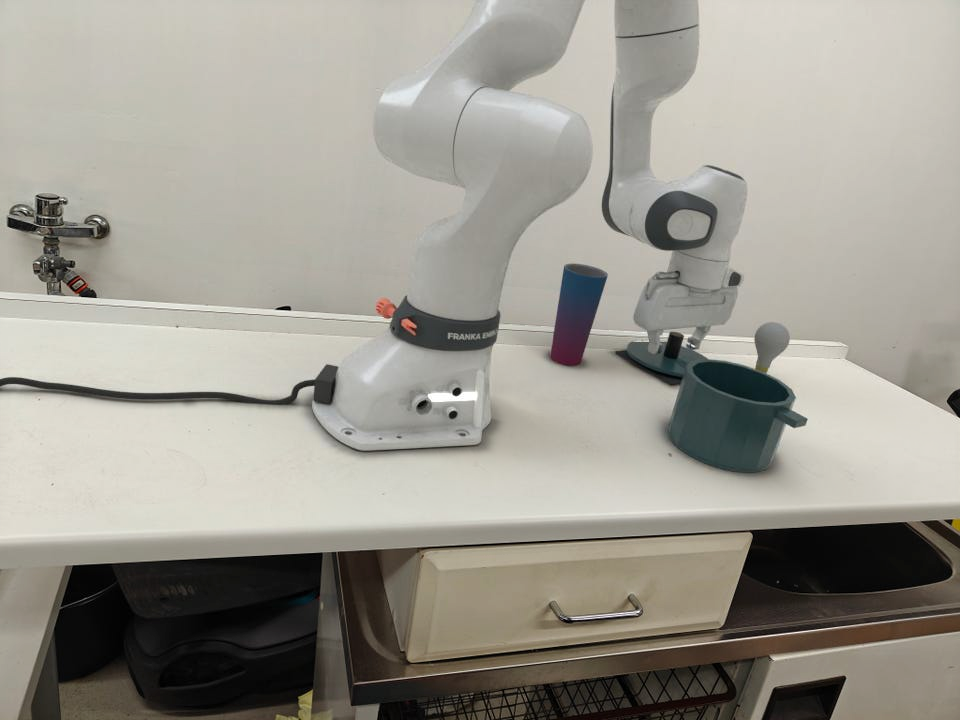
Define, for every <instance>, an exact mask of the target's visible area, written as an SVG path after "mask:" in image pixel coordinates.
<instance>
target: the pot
mask: <svg viewBox="0 0 960 720" xmlns="http://www.w3.org/2000/svg"><path fill="white" fill-rule="evenodd" d="M676 364H678V365H679V366H681V367H683V368H685V372H684V375H683V378H682V382H681V384H679V389H678V392H677V395H676V399H675V402H674V405H673V409H672V413H671V415H670V419H669V422H668V428H667V435H668V437H669V439H670V441H671V442H672V444H673V445H674V446H675V447H677V448H678V449H679V450H680V451H682V452H683V453H684V454H685V455H688V456H690V457H691V458H693V459H694V460H697V461H699V462H702V463H704V464H707V465H708V466H712V467H714V468H717V469H722V470H724V471H725V470H727V471H730V472H734V473H735V472H736V473H748V474H749V473H751V474H752V473H758V472H763V471H766V470H767V469H768V468H769V467H770V466H771V464H772V462H773V460H774V459H775V456H776V454H777V450H778V447H779V445H780V442H781V440H782V437H783V434H784V431H785V429H786V426H789V427H790V428H792V429H797V428H801V427H805V426H806V425H807V423H808V419H809V418H808V417H805V416H803V415H802V414H800V413H798V412H797V411H794V410H793V408H794V404H795V402H796V400H797V396H796V394H795V393H794V391H793V389H792V388H791V387H790V386H788V385H787V384H786V383H784V382H783V381H782V380H780V379H779V378H776V377H775V376H773V375H771V374H768V372H767V373H765V372H762V371H759V370H756V369H755V368H753V367H751V366H747V365H744V364H740V363H736V362H731V361H728V360H721V359H710V358H708V359H703V360H696V359H694V358H692V357H690V356H684V357H678V358H677V361H676Z"/></svg>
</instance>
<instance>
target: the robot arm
mask: <svg viewBox="0 0 960 720" xmlns="http://www.w3.org/2000/svg"><path fill="white" fill-rule="evenodd" d="M585 1H586V0H475V2H474V5H473V7H472V8H471V11H470V13H469V15H468V16H467V18H466V20H465V22H464V23H463V25H462V26H461V27H460V29H459V30H458V32H457V33H456V34H455V35H454V36H453V38H452V39H451V40H450V41H448V43H447V44H446V45H445V46H444V47H443V48H442V49H441V50H440V51H439V52H438V53H436V54H435V55H434V56H433V57H432V58H431V59H430V60H428V61H427V62H426V63H425V64H423V65H422V66H420V67H419V68H417V69H415V70H413V71H412V72H410V73H408V74H406V75H403V76H401V77H398V78H396V79H394V80H393V81H391V82H390V83H389V84H388V85H387V86H386V87H385V88H384V89H383V91H382V92H381V94H380V95H379V97H378V99H377V102H376V104H375V107H374V110H373V115H372V133H373V139H374V143H375V145H376V148H377V150H378V152H379V154H380V155H381V157H383V158H384V159H385V160H387V162H390V163H392V164H394V165H395V166H397V167H398V168H401V169H402V170H405V171H407V172H409V173H411V174H413V175H415V176H417V177H420V178H424V179H428V180H432V181H435V182H438V183H439V182H440V183H443V184H448V185H452V186H456V187H458V188H462V189H465V191H464V198H463V201H462V205H461V207H460V209H459V211H458V212H457V214H455V215H451V216H447V217H444V218H442V219H439V220H436V221H434V222H432V223H430V224H428V225H427V226H425V227H424V228H423V229H422V230H421V231H420V232H419V233H418V235H417V237H416V239H415V240H414V243H413V250H412V257H411V263H410V272H409V280H408V287H407V294H406V295H405V296H404V297H403V298H402V300H401V302H400V304H399V305H398V306H396V304H394V303H393V302H391V301H390V299H388V298H385V297H382V298H380V299H379V300H378V301H377V302H376V303H375V304H376V305H375V306H374V307H375V311H376V312H377V314H379V315H381V316H382V317H383V318H384V319H386V320H389V319H391V321H390V323H389V327H387V328H385V329H384V330H382V331H381V332H380V333H378V334H377V335H375V337H373V338H371V339H370V340H368V341H367V342H365V343H364V344H363V345H361V346H359V347H358V348H356V349H355V350H353V351H352V352H350V353H349V354H346V355H345V356H344V357H343V358H342V360H341V361H340V363H339V365H333V364H327V363H326V364H325V365H324V367H323V368H322V369H321V371H320V372H319V373H318V375H317V376H316V377H315V378H314V379H306V380H303V381H300V382H298V383H296V384H295V385H294V386H293V388H292V390H291V393H290V395H289V396H286V397H285V398H280V399H262V398H256V397H252V396H247V395H242V394H237V393H233V392H224V391H183V392H182V391H180V392H179V391H178V392H133V391H131V392H129V391H119V390H112V389H111V390H110V389H102V388H97V387H91V386H83V385H77V384H70V383H62V382H61V383H59V382H48V381H41V380H37V379H31V378H26V377H18V376H9V377H2V378H0V387H2V386H7V385H19V386H27V387H32V388H36V389H43V390H51V391H52V390H53V391H61V392H62V391H63V392H69V393H70V392H72V393H78V394H85V395H92V396H98V397H104V398H113V399H121V400H123V399H124V400H140V401H141V400H142V401H144V400H146V401H162V400H163V401H164V400H190V399H191V400H193V399H219V400H229V401H236V402H240V403H247V404H255V405H256V404H257V405H267V406H269V405H270V406H271V405H272V406H285V405H288V404H291V403H293V402H295V400H297V398H298V396H299V393H300V391H301V390H302V389H305V388H308V387H313V397H312V403H311V409H312V411H313V414H314V416H315V418H316V420H317V421H318V422H319V424H320V425H321V426H322V427H323V428H324V430H325V431H326V432H328V433H329V434H330V436H332V437H333V438H335V439H336V440H337V441H339V442H340V443H342V444H344V445H346V446H348V447H350V448H352V449H355V450H358V451H364V452H365V451H366V452H367V451H385V450H387V451H388V450H405V449H406V450H407V449H422V448H423V449H424V448H443V447H461V446H463V447H464V446H475V445H479V444H481V442H482V438H483V437H482V435H483V431H484V430H485V429H486V428H487V427H488V425H489V424H490V423H491V421H492V409H491V402H490V401H491V400H490V375H491V360H492V352H493V346H494V345H495V343H496V342H497V339H498V333H499V330H500V329H499V328H500V321H501V311H500V310H499V308H500V303H501V296H502V291H503V287H504V284H505V279H506V275H507V271H508V268H509V264H510V260H511V257H512V255H513V252H514V249H515V247H516V245H517V243H518V242H519V240H520V239H521V237H522V236H523V234H524V233H525V232H526V230H527V229H528V228H529V226H531V224H532V223H533V222H535V221H536V220H537V219H538V218H539V217H540V216H542V215H543V214H544V213H546V212H547V211H549V210H551V209H554V207H557V206H559V205H562V204H563V203H565V202H566V201H568V200H569V199H570V198H571V197H572V196H574V195H575V194H576V193H577V192H578V191H579V189H580V188H581V187H582V186H583V184H584V183H585V181H586V179H587V177H588V175H589V173H590V170H591V167H592V163H593V155H594V154H593V153H594V148H593V145H594V144H593V138H592V135H591V131H590V128H589V126H588V123H587V121H586V119H585V118H584V116H583V115H582V114H580V113H578V112H576V111H574V110H572V109H570V108H568V107H566V106H563V105H561V104H559V103H556V102H554V101H551V100H549V99H547V98H545V97H540V96H537V95H531V94H525V93H520V92H515V91H512V90H513V88H515V87H516V86H517V85H519V84H521V83H523V82H525V81H527V80H530V79H532V78H535V77H537V76H540V75H543V74H544V73H547V72H549V71H550V70H552V69H553V68H555V66H556V65H557V64H558V63H559V62H560V61H561V60H562V58H563V57H564V55H565V53H566V51H567V49H568V46H569V43H570V41H571V38H572V35H573V33H574V30H575V28H576V25H577V23H578V20H579V17H580V14H581V12H582V9H583V7H584V3H585ZM613 10H614V13H613V14H614V16H613V17H614V18H613V20H614V21H613V22H614V44H615V46H614V47H615V73H614V74H615V75H614V81H613V85H612V92H611V100H610V101H611V102H610V119H609V120H610V125H609V127H610V131H609V132H610V133H609V168H608V174H607V180H606V184H605V187H604V190H603V194H602V198H601V214H602V216H603V219H604V222H605V223H606V224H607V226H608V227H609V228H610V229H612V230H613V231H615V232H617V233H619V234H622V235H625V236H628V237H631V238H633V239H635V240H637V241H638V242H641V243H643V244H645V245H647V246H649V247H651V248H653V249H656V250H660V251H665V252H671V255H670V259H669V263H668V267H667V269H666V271H656V272H655V274H654V275H652V276H651V277H650V278H648V280H647V282H646V284H645V285H644V287H643V288H642V290H641V293H640V295H639V298H638V300H637V304H636V306H635V309H634V312H633V316H632V320H633V322H634V325H636V326H638V327H639V328H641V329H643V330H645V331H646V333H647V337H648V340H649V345H648V352H650V353H652V354H659V353H661V351H662V348H663V344H662V343H660V341H661V336H663V333H664V331H665V330H678V329H690V328H695V330H694V331H693V333H692V335H691V336H688V337H687V340H686V344H685V347H686V348H688V349H691V350H693V351H696V350H700V347H701V345H702V341H704V339H705V338H706V336H707V335H708V334H709V333H710V331H711V328H712V327H713V326H715V327H717V326H724V325H726V324H727V323H728V322H729V320H730V319H731V316H732V314H733V311H734V309H735V306H736V303H737V299H738V295H739V288H738V287H741V286H742V285H743V282H744V280H745V275H744V274H743V273H742V272H740V271H738V270H736V269H734V268H733V267H731V266H729V263H730V260H731V249H732V244H733V242H734V240H735V238H736V237H737V236H738V234H739V231H740V227H741V224H742V222H743V221H742V220H743V218H744V213H745V210H746V205H747V198H748V184H747V181H746V180H745V179H744V178H743V177H742V176H741V175H739V174H737V173H735V172H732V171H729V170H727V169H723V168H721V167H718V166H714V165H711V164H706V165H705V164H704V165H701V166H700V167H699V168H698V170H697V171H695V172H693V173H691V174H689V175H687V176H685V177H682V178H679V179H677V180H671V181H669V182H666V181H664V180H661V179H659V178H657V177H656V176H655V174H654V172H653V170H652V168H651V148H652V147H651V144H652V125H653V118H654V115H655V112H656V111H657V108H658V107H659V106H660V105H661V104H662V103H663V102H664V101H665V100H667V99H670V98H671V97H673V96H674V95H676V94H677V93H679V92H680V91H681V90H682V89H683V88H684V87H685V86H686V85H687V84H688V83H689V82H690V80H691V79H692V77H693V75H694V74H695V72H696V69H697V64H698V59H699V53H700V8H699V0H614V9H613Z"/></svg>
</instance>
